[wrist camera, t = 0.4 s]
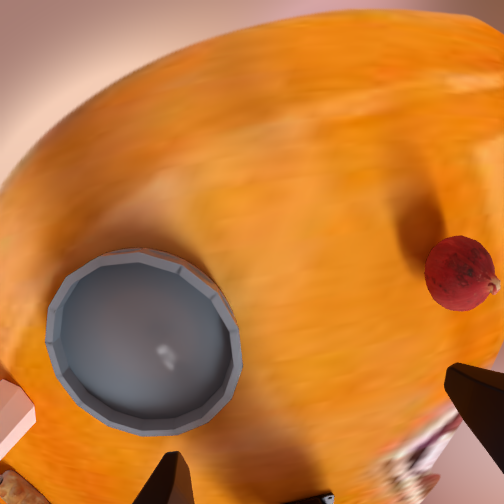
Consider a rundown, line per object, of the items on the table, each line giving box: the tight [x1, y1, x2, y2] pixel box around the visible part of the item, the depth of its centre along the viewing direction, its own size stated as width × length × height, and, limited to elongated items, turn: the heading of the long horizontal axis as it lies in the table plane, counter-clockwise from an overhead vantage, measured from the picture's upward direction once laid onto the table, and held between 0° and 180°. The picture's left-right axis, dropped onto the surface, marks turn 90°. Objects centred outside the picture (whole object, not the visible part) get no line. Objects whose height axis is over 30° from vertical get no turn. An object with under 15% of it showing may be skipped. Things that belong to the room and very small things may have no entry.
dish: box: [45, 248, 243, 436], centre depth 20 cm, size 14×14×2 cm
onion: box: [424, 236, 501, 311], centre depth 20 cm, size 6×6×8 cm
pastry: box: [0, 470, 50, 504], centre depth 20 cm, size 9×7×4 cm
